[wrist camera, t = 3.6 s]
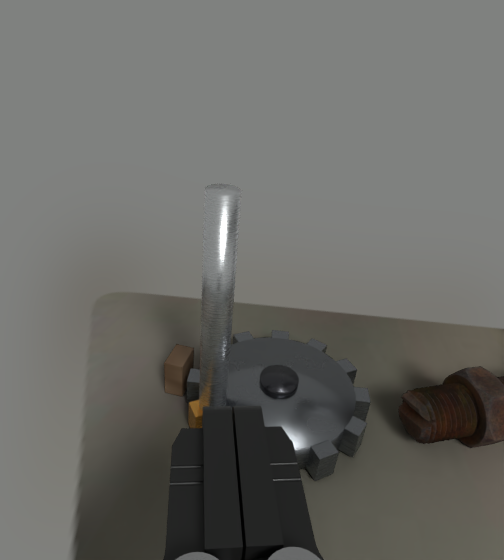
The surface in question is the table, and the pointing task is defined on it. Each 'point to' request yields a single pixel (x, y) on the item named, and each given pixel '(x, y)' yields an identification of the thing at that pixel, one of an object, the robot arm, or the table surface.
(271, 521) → the robot arm
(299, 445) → the sprocket
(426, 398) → the bolt
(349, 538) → the table surface
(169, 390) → the brown block
